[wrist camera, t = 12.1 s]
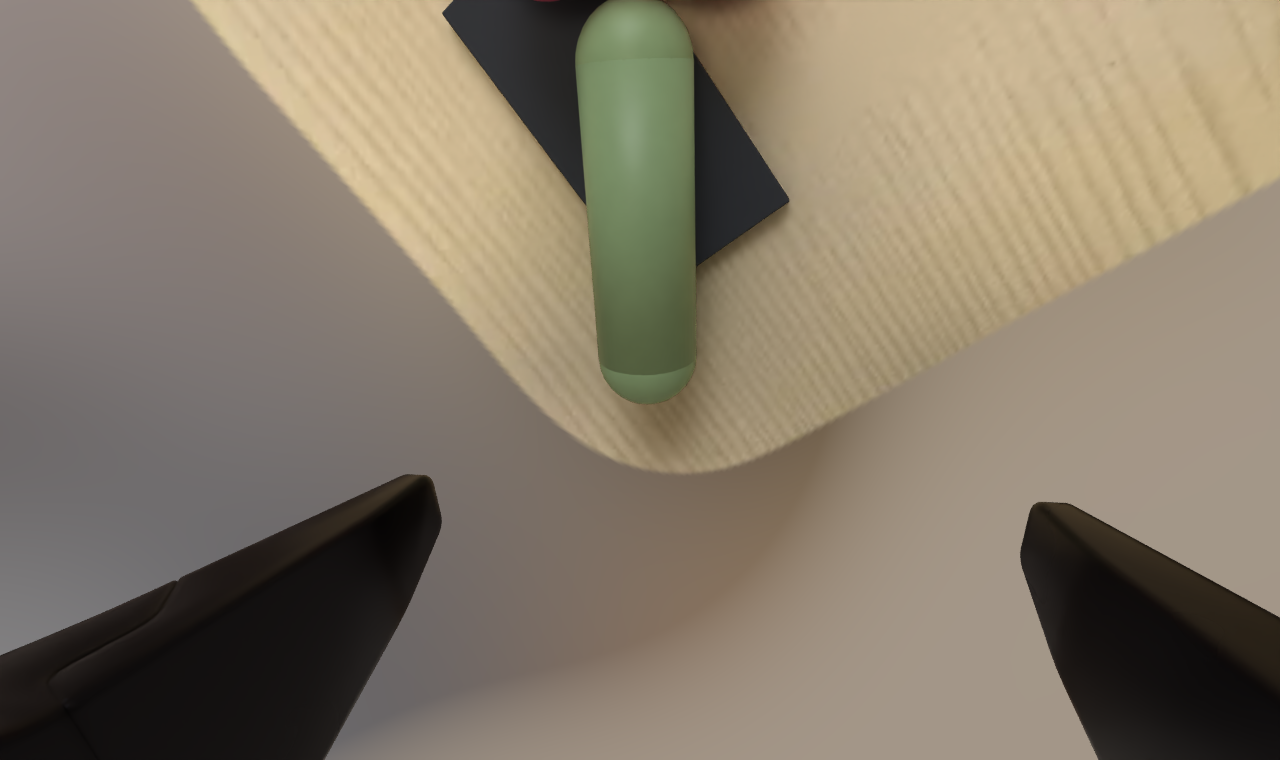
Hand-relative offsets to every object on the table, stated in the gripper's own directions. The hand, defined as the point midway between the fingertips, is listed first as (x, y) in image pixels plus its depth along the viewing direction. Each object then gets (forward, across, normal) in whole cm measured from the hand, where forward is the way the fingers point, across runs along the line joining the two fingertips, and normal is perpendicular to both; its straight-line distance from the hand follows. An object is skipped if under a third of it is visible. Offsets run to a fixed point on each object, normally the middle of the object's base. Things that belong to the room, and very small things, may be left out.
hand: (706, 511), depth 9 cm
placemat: (+11, +3, -6) cm, 13 cm away
